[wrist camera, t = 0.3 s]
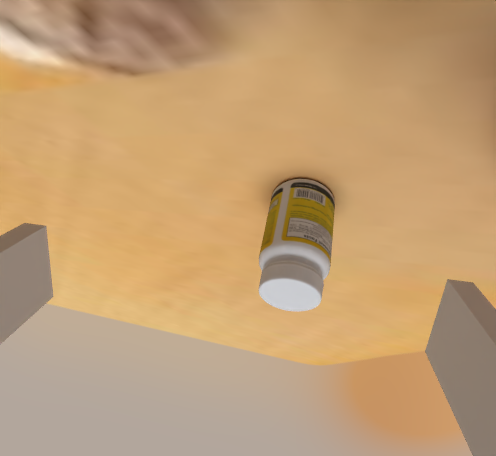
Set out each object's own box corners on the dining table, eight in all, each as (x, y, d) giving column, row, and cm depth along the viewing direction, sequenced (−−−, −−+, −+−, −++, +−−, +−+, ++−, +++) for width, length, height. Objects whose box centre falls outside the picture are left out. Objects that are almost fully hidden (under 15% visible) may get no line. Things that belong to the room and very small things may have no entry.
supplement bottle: (289, 224, 33) (273, 317, 28) (261, 186, 30) (237, 281, 25) (345, 212, 30) (339, 311, 25) (320, 169, 27) (307, 270, 22)
